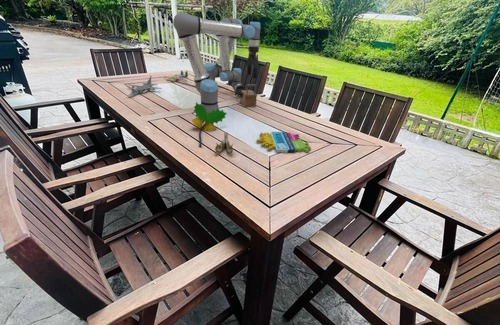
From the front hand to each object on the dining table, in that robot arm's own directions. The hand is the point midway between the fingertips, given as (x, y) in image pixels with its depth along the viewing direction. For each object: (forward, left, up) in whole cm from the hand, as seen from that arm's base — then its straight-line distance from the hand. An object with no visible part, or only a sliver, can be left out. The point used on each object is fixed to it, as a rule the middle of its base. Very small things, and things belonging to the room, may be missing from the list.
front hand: (251, 76), depth 199 cm
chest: (+5, 0, -24) cm, 24 cm away
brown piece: (+5, 0, -15) cm, 16 cm away
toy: (+98, +52, -24) cm, 113 cm away
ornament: (-43, +39, -24) cm, 62 cm away
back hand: (+8, 0, -17) cm, 19 cm away
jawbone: (-75, +35, -24) cm, 86 cm away
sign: (-69, 0, -24) cm, 73 cm away
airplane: (+47, +84, -24) cm, 99 cm away
